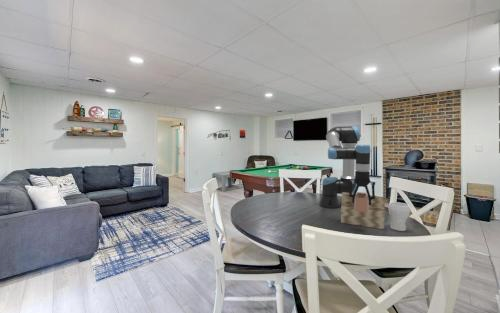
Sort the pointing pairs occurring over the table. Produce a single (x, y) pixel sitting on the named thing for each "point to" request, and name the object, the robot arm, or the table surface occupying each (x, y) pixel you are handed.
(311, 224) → the table surface
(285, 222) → the table surface
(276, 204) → the table surface
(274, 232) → the table surface
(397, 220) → the cup
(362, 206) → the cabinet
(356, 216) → the wallboard
